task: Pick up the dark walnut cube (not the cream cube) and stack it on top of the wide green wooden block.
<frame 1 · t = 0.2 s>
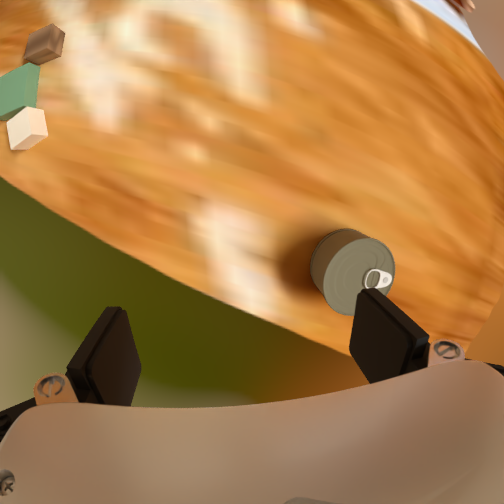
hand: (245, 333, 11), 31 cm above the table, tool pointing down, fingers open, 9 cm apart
cream cube: (35, 129, 32), on the table
walnut cube: (51, 49, 28), on the table
green base: (22, 94, 30), on the table
can: (342, 262, 45), on the table
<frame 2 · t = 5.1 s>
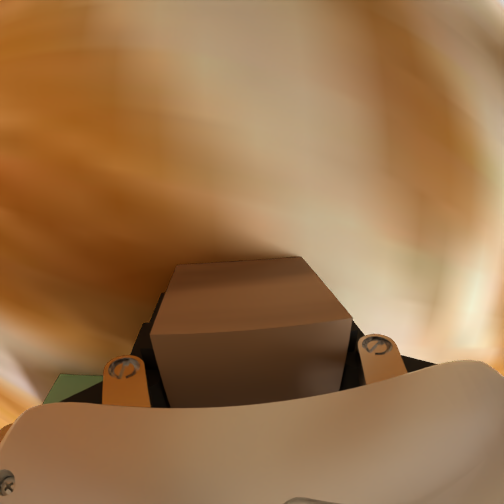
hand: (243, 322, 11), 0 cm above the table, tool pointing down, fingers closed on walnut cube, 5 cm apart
walnut cube: (242, 315, 12), on the table, touching gripper
green base: (143, 419, 14), on the table
when the fingers open (5 cm above the table, at t = 10.2 s): walnut cube drops 1 cm, resting on green base.
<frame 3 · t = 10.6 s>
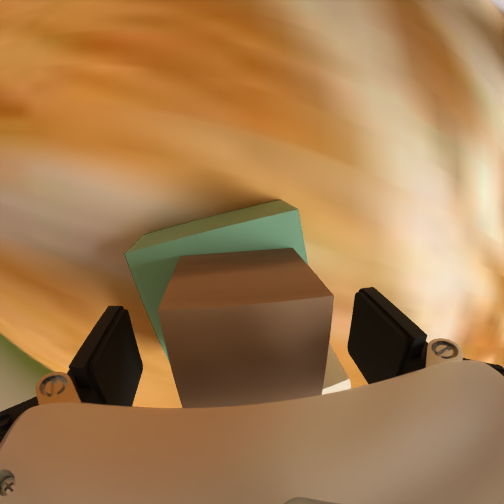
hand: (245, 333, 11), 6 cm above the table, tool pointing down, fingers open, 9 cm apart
cream cube: (296, 369, 19), on the table
walnut cube: (240, 302, 13), point 4 cm above the table, touching green base
green base: (228, 279, 17), on the table, touching walnut cube
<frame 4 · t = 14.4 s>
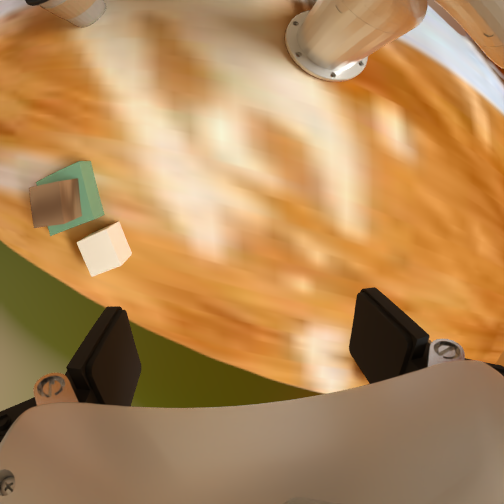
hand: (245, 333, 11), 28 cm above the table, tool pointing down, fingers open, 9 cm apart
coffee cup: (90, 13, 25), on the table
cream cube: (111, 243, 37), on the table
walnut cube: (65, 199, 31), point 4 cm above the table, touching green base
green base: (76, 196, 35), on the table, touching walnut cube
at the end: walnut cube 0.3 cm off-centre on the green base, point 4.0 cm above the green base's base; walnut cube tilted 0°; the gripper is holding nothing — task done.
